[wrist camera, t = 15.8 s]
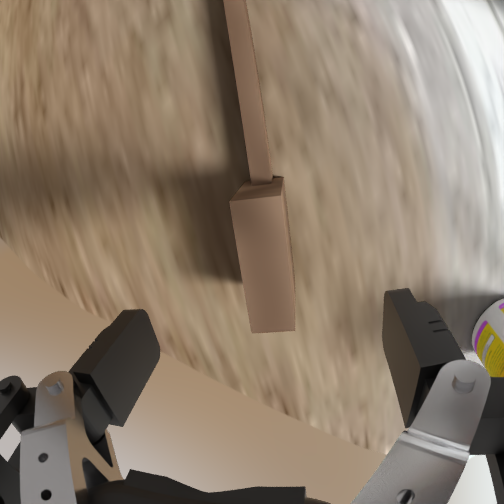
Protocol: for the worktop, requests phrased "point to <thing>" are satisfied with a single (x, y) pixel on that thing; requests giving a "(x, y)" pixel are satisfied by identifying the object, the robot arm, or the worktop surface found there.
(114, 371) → the robot arm
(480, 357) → the supplement bottle
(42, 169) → the worktop surface
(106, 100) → the worktop surface
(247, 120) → the walnut push stick
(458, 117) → the worktop surface
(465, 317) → the worktop surface
